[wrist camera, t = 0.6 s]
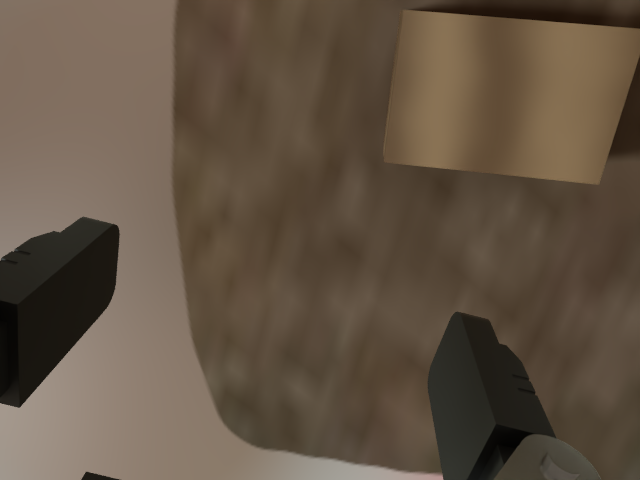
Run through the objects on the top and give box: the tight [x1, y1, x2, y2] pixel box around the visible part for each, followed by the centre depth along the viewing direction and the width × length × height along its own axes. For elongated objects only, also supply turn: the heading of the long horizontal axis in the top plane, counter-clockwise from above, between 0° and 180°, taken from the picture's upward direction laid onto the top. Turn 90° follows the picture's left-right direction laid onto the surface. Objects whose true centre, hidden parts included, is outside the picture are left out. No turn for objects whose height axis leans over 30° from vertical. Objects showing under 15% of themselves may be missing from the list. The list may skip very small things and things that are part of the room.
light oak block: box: [384, 10, 640, 184], centre depth 29 cm, size 12×8×6 cm, turn 86°
